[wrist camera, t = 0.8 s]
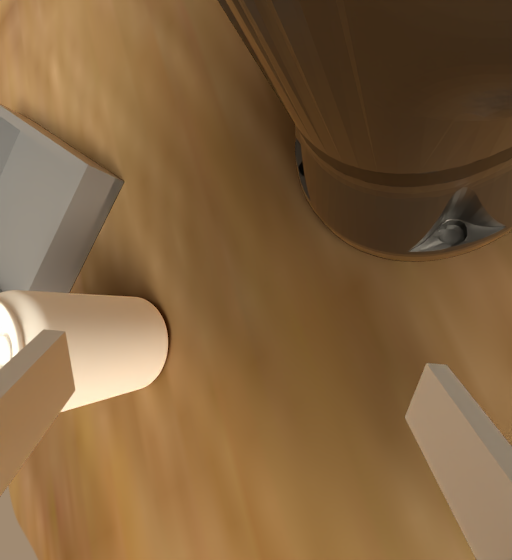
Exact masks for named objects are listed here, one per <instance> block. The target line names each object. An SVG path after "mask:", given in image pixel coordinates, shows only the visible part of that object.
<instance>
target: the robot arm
mask: <svg viewBox="0 0 512 560" xmlns="http://www.w3.org/2000/svg"><path fill="white" fill-rule="evenodd" d="M218 1H219V3H220V5H221V6H222V8H223V9H224V11H225V13H226V14H227V16H228V17H229V19H230V21H231V22H232V24H233V25H234V27H235V29H236V30H237V32H238V33H239V35H240V37H241V38H242V40H243V42H244V43H245V45H246V46H247V48H248V50H249V51H250V53H251V54H252V56H253V58H254V59H255V61H256V62H257V64H258V66H259V67H260V69H261V70H262V72H263V74H264V75H265V77H266V78H267V80H268V82H269V83H270V85H271V86H272V88H273V90H274V91H275V93H276V94H277V96H278V98H279V99H280V101H281V102H282V104H283V106H284V107H285V109H286V110H287V112H288V114H289V115H290V117H291V118H292V120H293V122H294V123H295V137H296V142H295V156H296V167H297V173H298V177H299V181H300V184H301V187H302V189H303V192H304V194H305V196H306V198H307V200H308V202H309V204H310V206H311V207H312V209H313V210H314V211H315V213H316V214H317V215H318V217H319V218H320V219H321V220H322V221H323V222H324V223H325V225H326V226H327V227H328V228H329V229H330V230H331V231H332V232H333V233H334V234H336V235H337V236H338V237H339V238H341V239H342V240H343V241H345V242H346V243H348V244H350V245H351V246H353V247H355V248H357V249H359V250H361V251H363V252H366V253H368V254H371V255H375V256H378V257H382V258H386V259H392V260H399V261H431V260H439V259H445V258H450V257H454V256H458V255H461V254H464V253H468V252H470V251H473V250H476V249H478V248H480V247H483V246H485V245H487V244H489V243H491V242H493V241H495V240H497V239H498V238H500V237H502V236H503V235H505V234H507V233H508V232H510V231H511V230H512V0H218ZM74 392H75V384H74V378H73V372H72V367H71V361H70V355H69V350H68V344H67V338H66V332H65V331H58V330H46V329H43V330H42V331H41V332H40V333H39V334H38V335H37V336H36V337H34V338H33V339H32V340H31V341H30V342H29V343H28V344H27V345H26V346H25V347H24V348H23V349H21V350H20V351H19V352H18V353H17V354H16V355H15V356H14V357H13V358H12V359H11V360H9V361H8V362H7V363H6V364H5V365H4V366H3V367H2V368H1V369H0V496H1V495H2V493H3V492H4V491H5V489H6V488H7V486H8V485H9V484H10V482H11V481H12V479H13V478H14V477H15V475H16V474H17V472H18V471H19V469H20V468H21V467H22V465H23V464H24V462H25V461H26V460H27V458H28V457H29V455H30V454H31V453H32V451H33V450H34V448H35V447H36V445H37V444H38V443H39V441H40V440H41V438H42V437H43V436H44V434H45V433H46V431H47V430H48V429H49V427H50V426H51V424H52V423H53V421H54V420H55V419H56V417H57V416H58V414H59V413H60V412H61V410H62V409H63V407H64V406H65V404H66V403H67V402H68V400H69V399H70V397H71V396H72V395H73V393H74ZM405 419H406V421H407V423H408V425H409V427H410V429H411V431H412V433H413V435H414V437H415V439H416V441H417V443H418V445H419V447H420V449H421V451H422V453H423V455H424V457H425V459H426V461H427V463H428V465H429V467H430V469H431V471H432V473H433V475H434V477H435V479H436V481H437V483H438V485H439V487H440V489H441V491H442V493H443V495H444V497H445V498H446V500H447V502H448V504H449V506H450V508H451V510H452V512H453V514H454V516H455V518H456V520H457V522H458V524H459V526H460V528H461V530H462V532H463V534H464V536H465V538H466V540H467V542H468V544H469V546H470V548H471V550H472V552H473V554H474V556H475V558H476V560H512V446H511V445H510V444H509V443H508V441H507V440H506V439H505V438H504V436H503V435H502V434H501V433H500V431H499V430H498V429H497V428H496V426H495V425H494V424H493V422H492V421H491V420H490V419H489V417H488V416H487V415H486V414H485V412H484V411H483V410H482V409H481V407H480V406H479V405H478V404H477V402H476V401H475V400H474V399H473V397H472V396H471V395H470V394H469V392H468V391H467V390H466V389H465V387H464V386H463V385H462V384H461V382H460V381H459V380H458V378H457V377H456V376H455V375H454V373H453V372H452V371H451V370H450V368H449V367H448V366H447V365H443V364H432V363H426V365H425V368H424V370H423V373H422V375H421V378H420V380H419V383H418V385H417V388H416V390H415V393H414V395H413V398H412V400H411V403H410V405H409V408H408V410H407V413H406V415H405Z"/></svg>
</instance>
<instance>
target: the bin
mask: <svg viewBox="0 0 512 560" xmlns="http://www.w3.org/2000/svg"><path fill="white" fill-rule="evenodd" d="M123 183H124V181H122V180H121V179H119V178H118V177H116V176H115V175H113V174H112V173H110V172H109V171H107V170H106V169H104V168H103V167H101V166H100V165H98V164H97V163H95V162H94V161H92V160H91V159H89V158H88V157H86V156H85V155H83V154H82V153H80V152H79V151H77V150H76V149H74V148H73V147H71V146H70V145H68V144H67V143H65V142H64V141H62V140H61V139H59V138H58V137H56V136H55V135H53V134H52V133H50V132H49V131H47V130H46V129H44V128H43V127H41V126H40V125H38V124H36V123H35V122H33V121H32V120H30V119H28V118H27V117H25V116H23V115H21V114H19V113H17V112H15V111H13V110H11V109H9V108H7V107H5V106H3V105H1V104H0V293H1V292H5V291H10V290H23V291H41V292H59V293H69V292H70V290H71V288H72V286H73V284H74V282H75V280H76V278H77V276H78V274H79V272H80V270H81V268H82V266H83V264H84V262H85V260H86V258H87V256H88V254H89V252H90V250H91V248H92V246H93V244H94V242H95V240H96V238H97V236H98V234H99V232H100V229H101V227H102V225H103V223H104V221H105V219H106V217H107V215H108V213H109V211H110V209H111V207H112V205H113V203H114V201H115V199H116V197H117V195H118V193H119V191H120V189H121V187H122V185H123Z"/></svg>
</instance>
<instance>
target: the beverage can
mask: <svg viewBox="0 0 512 560" xmlns="http://www.w3.org/2000/svg"><path fill="white" fill-rule="evenodd" d="M43 329H46V330H58V331H65V332H66V338H67V344H68V350H69V355H70V361H71V367H72V372H73V378H74V384H75V392H74V393H73V395H72V396H71V397H70V399H69V400H68V402H67V403H66V404H65V406H64V407H63V409H62V410H61V412H63V411H66V410H70V409H73V408H77V407H80V406H83V405H87V404H90V403H94V402H97V401H101V400H104V399H108V398H111V397H114V396H118V395H121V394H125V393H128V392H132V391H135V390H138V389H142V388H144V387H146V386H148V385H149V384H151V383H152V382H153V381H154V380H155V379H156V378H157V376H158V375H159V374H160V372H161V370H162V368H163V366H164V364H165V361H166V357H167V352H168V333H167V328H166V325H165V322H164V320H163V317H162V316H161V314H160V312H159V311H158V310H157V308H156V307H155V306H154V305H153V304H151V303H150V302H149V301H147V300H145V299H143V298H139V297H129V296H112V295H94V294H76V293H59V292H41V291H23V290H10V291H5V292H1V293H0V369H1V368H2V367H3V366H4V365H5V364H6V363H7V362H8V361H9V360H11V359H12V358H13V357H14V356H15V355H16V354H17V353H18V352H19V351H20V350H21V349H23V348H24V347H25V346H26V345H27V344H28V343H29V342H30V341H31V340H32V339H33V338H34V337H36V336H37V335H38V334H39V333H40V332H41V331H42V330H43Z"/></svg>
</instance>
